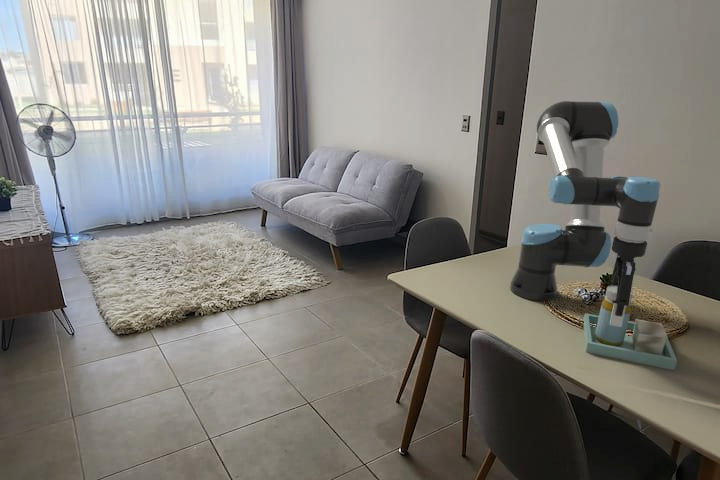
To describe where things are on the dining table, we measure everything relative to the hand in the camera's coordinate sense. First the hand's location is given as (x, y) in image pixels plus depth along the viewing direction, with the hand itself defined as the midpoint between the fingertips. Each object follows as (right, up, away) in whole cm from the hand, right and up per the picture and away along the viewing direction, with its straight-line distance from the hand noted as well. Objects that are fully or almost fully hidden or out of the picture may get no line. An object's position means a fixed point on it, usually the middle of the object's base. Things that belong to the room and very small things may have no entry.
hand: (613, 316), depth 125 cm
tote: (+4, -8, +1) cm, 9 cm away
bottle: (0, -7, +2) cm, 7 cm away
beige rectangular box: (+8, -8, -1) cm, 12 cm away
